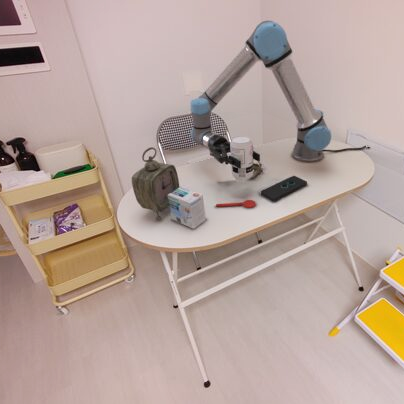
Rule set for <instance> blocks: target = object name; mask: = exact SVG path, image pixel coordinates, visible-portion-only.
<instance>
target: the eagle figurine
mask: <svg viewBox="0 0 404 404" xmlns="http://www.w3.org/2000/svg"><path fill="white" fill-rule="evenodd" d="M266 170H267V166H266V164H263V163H262V162H261V161H259V162H258V161H257V163H255V162H253V176H252V177H251V178H250V179H248V180H251V181H253V180H255V179H256V178H258V177H259V176H261V175H262V174H263V173H264V172H266Z"/></svg>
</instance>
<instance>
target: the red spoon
mask: <svg viewBox="0 0 404 404" xmlns="http://www.w3.org/2000/svg"><path fill="white" fill-rule="evenodd" d="M215 206H216V207H217V208H221V207H222V208H223V207H237V206H239V207H240V206H243V207H244V208H246V209H253V208H254V207H256V201H255V200H253V199H246V200H244V201H243V202H228V203H227V202H226V203H216V204H215Z"/></svg>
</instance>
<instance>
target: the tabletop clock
mask: <svg viewBox="0 0 404 404" xmlns="http://www.w3.org/2000/svg"><path fill="white" fill-rule="evenodd" d="M151 150H154V154H153V155H149V156H148V159H145V155H146V153H148V152H149V151H151ZM157 152H158V151H157V149H156V148H155V147H152V146H151V147H148V148H147V149H145V150H144V151H143V153H142V155H141V159H142V161H143V162H145V164H144V166H143V167H141V168H140V169H139V170H137V171H136V172H135V173H133V175H132V176H131V186H132V189H133V193H134V197H135V199H136V202H137V203H138V204H139V206H140V207H141V208H142V209H145V210H149V211H154V212H155V213H156V215H157V216H156V217H155V218H156V220H157V221H160V220H161V219H162V217H161V216H160V214H159V213H160V212H164V211H165V210H166V209H168V208H170V205H169V200H168V194H170V193H172V192H173V191H175V190H176V189H178V188H179V187H180V181H179V180H180V179H179V176H178V172H177V168H176V167H175V165H174V164H169V163H163V162H159V161H157V160H155V158H156V156H157Z"/></svg>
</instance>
